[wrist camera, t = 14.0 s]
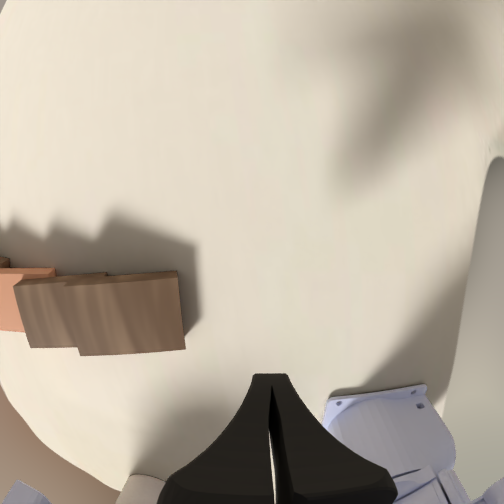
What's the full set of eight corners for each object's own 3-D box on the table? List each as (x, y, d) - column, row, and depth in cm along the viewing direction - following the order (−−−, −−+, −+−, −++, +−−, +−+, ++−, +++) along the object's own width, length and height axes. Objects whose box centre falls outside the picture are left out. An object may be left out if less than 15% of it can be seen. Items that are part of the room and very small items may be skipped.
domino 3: (177, 278, 17) (63, 286, 15) (185, 349, 19) (80, 356, 17) (176, 270, 19) (70, 279, 17) (183, 337, 20) (84, 344, 18)
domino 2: (102, 278, 18) (12, 286, 16) (116, 345, 19) (30, 347, 17) (106, 272, 19) (21, 279, 17) (118, 334, 20) (37, 338, 18)
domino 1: (48, 273, 18) (-22, 273, 16) (59, 334, 19) (-9, 329, 17) (55, 267, 19) (-13, 268, 17) (65, 325, 20) (-2, 321, 18)
